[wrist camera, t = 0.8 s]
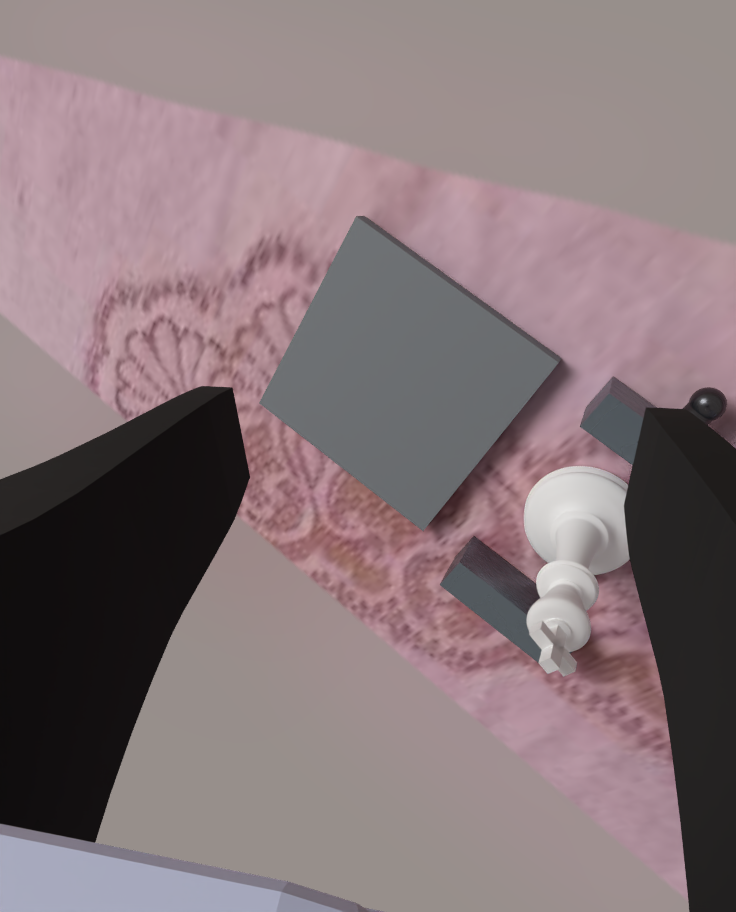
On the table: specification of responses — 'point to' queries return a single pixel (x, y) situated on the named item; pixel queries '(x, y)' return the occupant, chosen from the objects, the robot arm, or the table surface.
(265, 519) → the table surface
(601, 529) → the chess piece
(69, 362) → the table surface
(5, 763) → the robot arm
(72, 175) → the table surface
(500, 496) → the table surface
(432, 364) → the mat
